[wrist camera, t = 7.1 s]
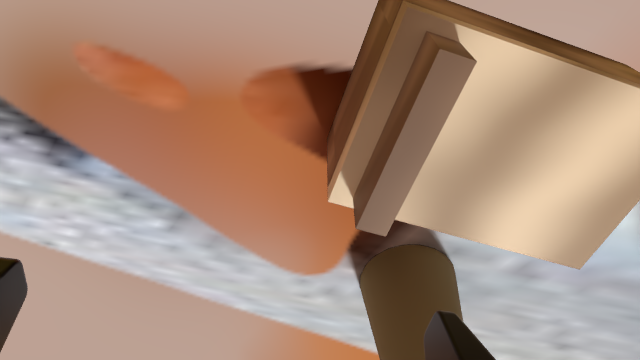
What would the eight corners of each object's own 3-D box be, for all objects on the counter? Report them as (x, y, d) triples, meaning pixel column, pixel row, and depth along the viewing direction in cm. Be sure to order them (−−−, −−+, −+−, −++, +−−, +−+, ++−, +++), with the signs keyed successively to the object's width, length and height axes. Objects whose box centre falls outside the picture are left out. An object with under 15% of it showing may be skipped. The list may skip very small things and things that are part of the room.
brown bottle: (456, 308, 30) (515, 494, 21) (365, 318, 30) (383, 503, 21) (455, 238, 27) (525, 422, 17) (354, 251, 27) (369, 435, 18)
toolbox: (625, 64, 21) (692, 102, 17) (531, 198, 25) (568, 253, 21) (386, -22, 19) (402, -1, 15) (326, 138, 23) (327, 186, 19)
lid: (694, 103, 17) (758, 140, 15) (569, 254, 21) (602, 303, 19) (402, 0, 15) (419, 21, 13) (327, 188, 19) (328, 232, 17)
